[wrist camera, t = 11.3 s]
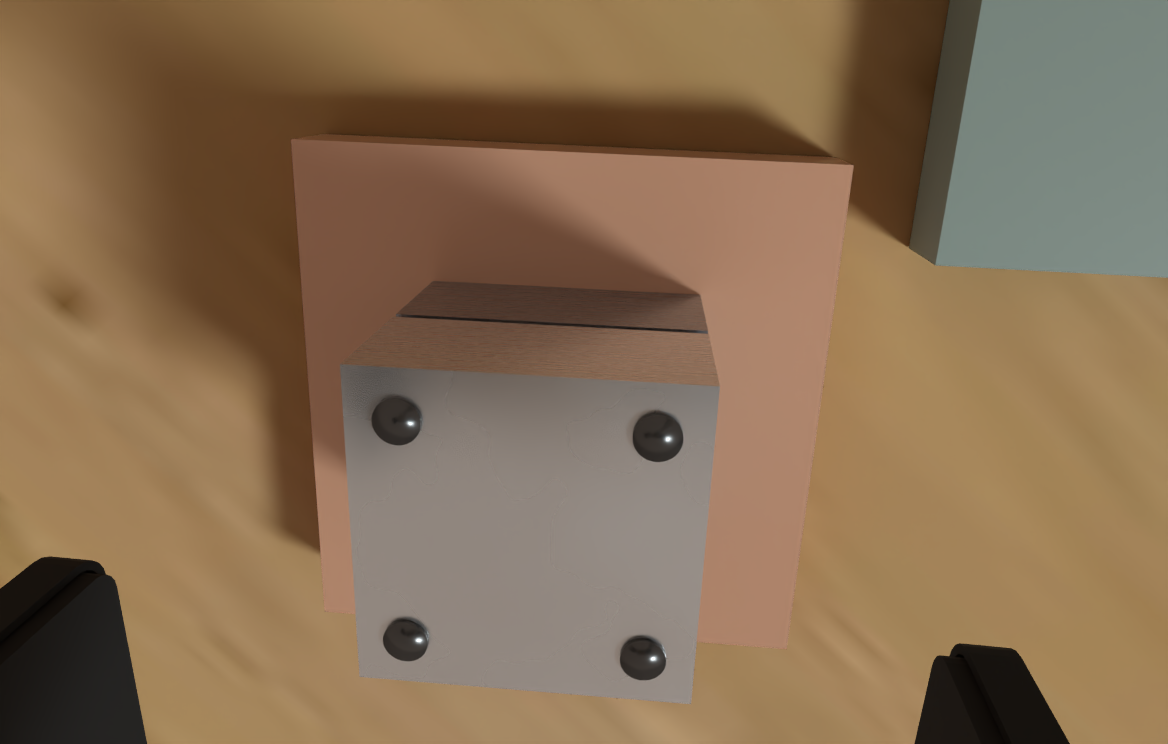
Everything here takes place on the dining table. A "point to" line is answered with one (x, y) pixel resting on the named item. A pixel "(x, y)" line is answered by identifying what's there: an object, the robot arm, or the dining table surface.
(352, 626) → the dining table surface
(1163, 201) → the stand
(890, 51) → the dining table surface
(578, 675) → the housing
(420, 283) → the stand
